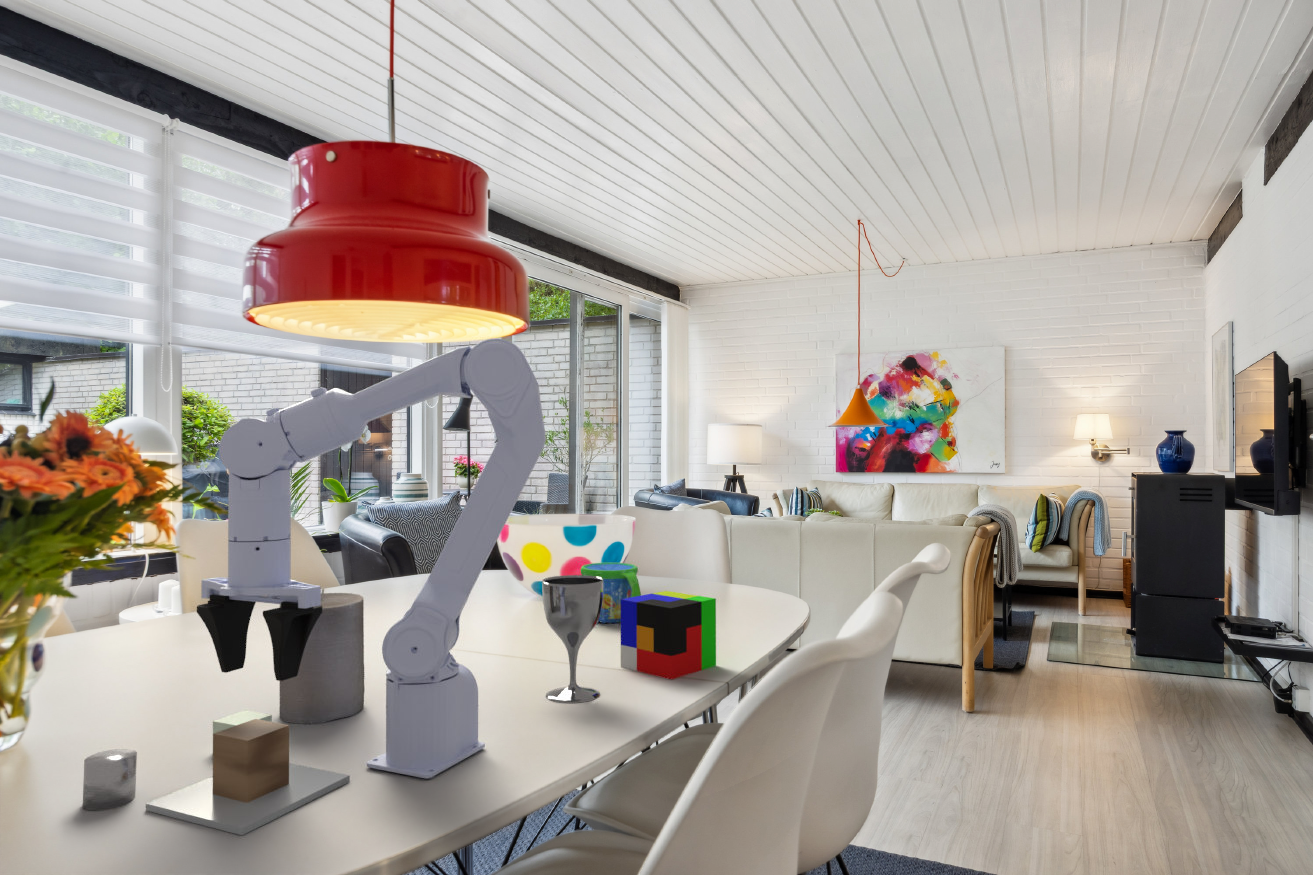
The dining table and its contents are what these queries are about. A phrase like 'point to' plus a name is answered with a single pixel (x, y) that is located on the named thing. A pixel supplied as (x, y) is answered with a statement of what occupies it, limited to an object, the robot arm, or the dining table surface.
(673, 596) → the puzzle toy
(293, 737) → the dining table surface
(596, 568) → the snack cup
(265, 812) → the slate tile
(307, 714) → the pillar candle
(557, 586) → the wine glass
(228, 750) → the walnut block
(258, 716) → the sage box
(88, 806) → the grey cylinder
